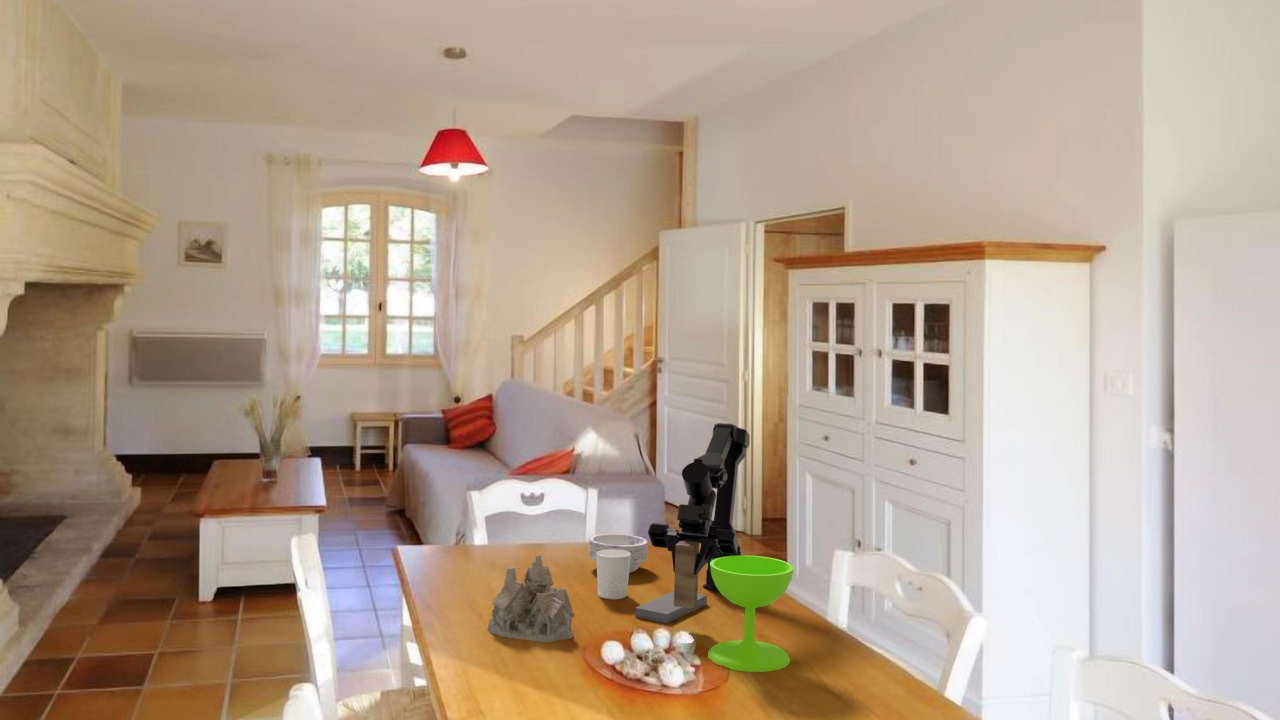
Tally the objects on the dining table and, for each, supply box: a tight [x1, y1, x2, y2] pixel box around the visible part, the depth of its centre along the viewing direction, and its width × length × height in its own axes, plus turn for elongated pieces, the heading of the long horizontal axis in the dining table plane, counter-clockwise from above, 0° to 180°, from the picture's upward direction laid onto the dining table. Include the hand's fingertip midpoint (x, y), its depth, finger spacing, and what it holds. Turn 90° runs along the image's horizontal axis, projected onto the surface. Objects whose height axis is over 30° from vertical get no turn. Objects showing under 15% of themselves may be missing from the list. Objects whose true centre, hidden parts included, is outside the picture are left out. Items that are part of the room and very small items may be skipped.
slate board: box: [634, 590, 708, 624], centre depth 227 cm, size 18×8×2 cm, turn 148°
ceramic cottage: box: [487, 554, 575, 643], centre depth 209 cm, size 16×16×15 cm
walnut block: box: [673, 541, 700, 608], centre depth 214 cm, size 4×4×13 cm
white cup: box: [596, 549, 631, 600], centre depth 238 cm, size 8×8×10 cm
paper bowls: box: [588, 533, 649, 574], centre depth 263 cm, size 15×15×8 cm
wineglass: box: [707, 554, 794, 673], centre depth 197 cm, size 16×16×18 cm
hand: (684, 572), depth 213 cm, fingers closed on walnut block, 4 cm apart
